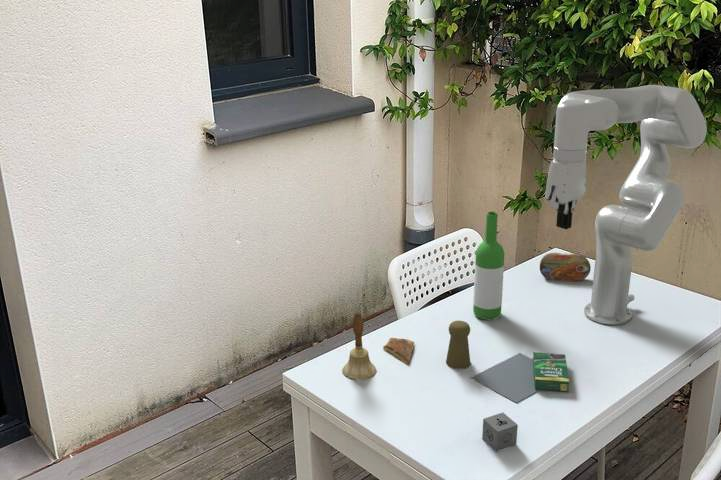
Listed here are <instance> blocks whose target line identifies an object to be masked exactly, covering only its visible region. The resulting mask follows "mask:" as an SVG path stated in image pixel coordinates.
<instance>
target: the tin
mask: <svg viewBox="0 0 721 480" xmlns="http://www.w3.org/2000/svg"><path fill="white" fill-rule="evenodd" d="M539 272H540V274H541V275H542V276H543V278H545V279H547V280H549V281H561V282H562V281H563V282H564V281H565V282H580V281H583V280H585V279H586V278H588V276H589V275H590V273H591V263H590V261H589V260H588V258H587V257H586V256H585V255H583V254H581V253H576V252H575V253H573V252H572V253H569V252H567V253H565V252H549V253H547V254H544V255H543V256H542V258H541V260H540V262H539Z"/></svg>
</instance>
